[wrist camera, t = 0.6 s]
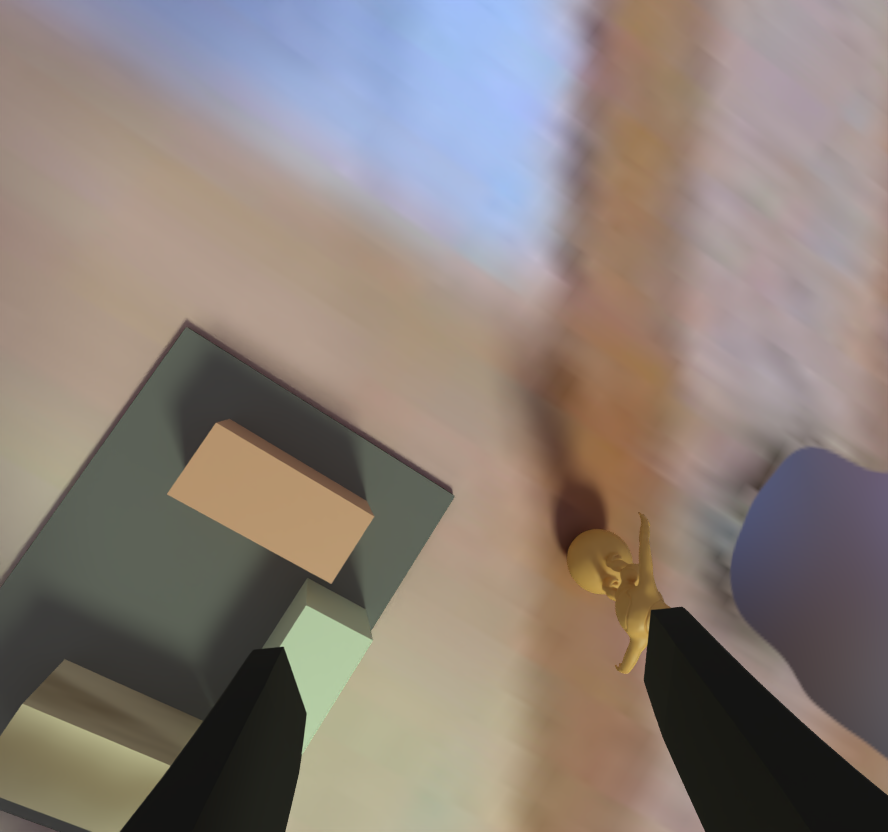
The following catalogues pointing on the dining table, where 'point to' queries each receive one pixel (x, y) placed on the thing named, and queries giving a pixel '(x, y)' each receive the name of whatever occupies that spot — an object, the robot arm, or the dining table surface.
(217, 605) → the mat
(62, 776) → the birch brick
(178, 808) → the robot arm
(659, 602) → the figurine
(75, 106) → the dining table surface
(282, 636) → the sage brick
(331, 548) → the tan rectangular block
